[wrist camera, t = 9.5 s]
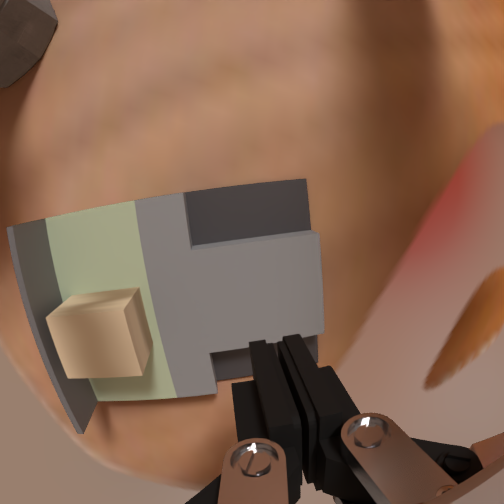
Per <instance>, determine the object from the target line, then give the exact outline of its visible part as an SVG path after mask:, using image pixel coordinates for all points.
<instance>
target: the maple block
mask: <svg viewBox="0 0 504 504" xmlns="http://www.w3.org/2000/svg"><path fill="white" fill-rule="evenodd" d="M46 321H47V324H48V327H49V330H50V333H51V336H52V339H53V342H54V344H55V347H56V350H57V353H58V355H59V358H60V360H61V363H62V365H63V368H64V370H65V373H66V375H67V378H68V379H71V378H111V377H130V376H143V373H144V370H145V367H146V364H147V361H148V358H149V355H150V351H151V348H152V345H153V341H152V337H151V333H150V329H149V325H148V321H147V317H146V313H145V309H144V305H143V301H142V296H141V292H140V287H133V288H125V289H118V290H110V291H102V292H94V293H86V294H78V295H72V296H70V297H69V298H68V299H67V300H66V301H64V302H63V303H62V304H61V305H60V306H58V307H57V308H56V309H55V310H54V311H53V312H51V313H50V314H49V315H48V316H47V317H46Z"/></svg>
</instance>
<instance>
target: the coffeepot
mask: <svg viewBox="0 0 504 504" xmlns="http://www.w3.org/2000/svg"><path fill="white" fill-rule="evenodd" d="M57 23H58V20H57V17H56V15H55V11H54V10H53V8H52V5H51V3H50V0H0V87H9V86H10V85H11V84H13V83H14V82H15V81H17V80H18V79H19V78H20V77H22V76H23V75H24V74H26V73H27V72H28V71H29V70H30V69H31V68H32V67H33V66H34V64H35V63H36V62H37V61H38V60H39V59H40V58H41V56H42V55H43V53H44V52H45V50H46V48H47V46H48V44H49V43H50V41H51V38H52V36H53V33H54V30H55V26H56V24H57Z"/></svg>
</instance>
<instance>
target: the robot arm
mask: <svg viewBox="0 0 504 504" xmlns="http://www.w3.org/2000/svg"><path fill="white" fill-rule="evenodd" d="M249 350H250V357H251V364H252V371H253V379H254V380H252V381H245V382H238V383H232V384H231V385H232V394H233V403H234V412H235V420H236V429H237V437H238V443H236V444H235V445H233V446H232V447H230V449H229V450H228V451H227V452H226V454H225V457H224V460H223V467H222V474H221V475H219V476H218V477H217V478H216V479H215V480H214V481H212V482H211V483H210V484H209V485H208V486H206V487H205V488H204V489H203V490H201V491H200V492H199V493H198V494H197V495H195V496H194V497H193V498H191V499H190V500H189V501H188V502H186V503H185V504H295V503H296V502H297V501H298V500H299V499H300V485H302V470H303V473H304V476H305V479H306V481H307V483H308V484H309V483H314V486H315V489H316V491H318V490H322V491H323V492H324V493H326V494H329V495H332V496H333V499H334V502H335V503H336V504H504V432H503V433H501V434H498V435H495V436H493V437H490V438H488V439H485V440H483V441H480V442H477V443H474V444H472V446H471V448H466V447H462V446H456V445H449V444H442V443H437V442H431V441H425V440H420V439H415V438H410V437H409V436H408V435H407V434H406V433H405V432H404V431H403V430H402V429H401V428H400V427H399V426H398V425H396V423H395V422H394V421H393V420H391V419H390V418H388V417H387V416H384V415H381V414H377V413H363V414H360V412H359V410H358V409H357V407H356V406H355V404H354V402H353V401H352V399H351V398H350V396H349V394H348V393H347V391H346V389H345V388H344V386H343V384H342V383H341V381H340V380H339V378H338V376H337V375H336V373H335V372H334V370H333V368H332V367H331V366H326V367H321V368H318V366H317V364H316V362H315V360H314V359H313V357H312V355H311V353H310V351H309V350H308V348H307V346H306V344H305V342H304V340H303V339H302V337H301V335H300V334H294V335H288V336H283V338H282V341H278V342H277V350H278V356H277V354H276V351H275V348H274V345H273V343H266V340H265V339H264V340H258V341H251V342H249Z"/></svg>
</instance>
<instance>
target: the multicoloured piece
mask: <svg viewBox="0 0 504 504" xmlns="http://www.w3.org/2000/svg"><path fill="white" fill-rule="evenodd" d="M6 228H7V234H8V240H9V246H10V251H11V256H12V261H13V265H14V270H15V274H16V278H17V282H18V286H19V290H20V294H21V297H22V301H23V304H24V308H25V311H26V314H27V317H28V321H29V324H30V327H31V330H32V333H33V336H34V338H35V341H36V344H37V347H38V349H39V352H40V355H41V357H42V360H43V362H44V365H45V367H46V370H47V372H48V374H49V377H50V379H51V381H52V383H53V386H54V388H55V390H56V392H57V394H58V397H59V399H60V401H61V403H62V405H63V407H64V409H65V411H66V413H67V415H68V417H69V419H70V420H71V422H72V424H73V426H74V428H75V430H76V432H77V433H78V434H84V432H85V430H86V427H87V425H88V423H89V420H90V418H91V416H92V413H93V411H94V409H95V407H96V405H97V402H98V401H131V400H152V399H167V398H179V397H189V396H199V395H208V394H216V393H218V389H217V380H224V379H231V378H238V377H245V376H251V375H253V371H252V364H251V357H250V350H249V342H251V341H258V340H264V339H265V340H266V343H273V345H274V348H275V351H276V354H277V356H278V350H277V342H278V341H282V338H283V336H288V335H294V334H300V335H301V337H302V339H303V340H304V342H305V344H306V346H307V348H308V350H309V351H310V353H311V355H312V357H313V359H314V360H315V362H316V363H318V344H317V335H318V334H323V333H324V304H323V283H322V265H321V249H320V235H319V233H317V232H315V231H312V230H311V224H310V213H309V202H308V192H307V182H306V179H296V180H285V181H275V182H265V183H256V184H247V185H238V186H230V187H222V188H214V189H207V190H199V191H192V192H185V193H177V194H170V195H164V196H158V197H152V198H146V199H140V200H134V201H128V202H123V203H117V204H112V205H107V206H102V207H97V208H92V209H87V210H82V211H77V212H72V213H68V214H63V215H58V216H54V217H50V218H45V219H41V220H36V221H31V222H27V223H22V224H18V225H14V226H10V227H6ZM133 287H140V292H141V296H142V301H143V305H144V309H145V313H146V317H147V321H148V325H149V329H150V333H151V337H152V341H153V345H152V348H151V351H150V355H149V358H148V361H147V364H146V367H145V370H144V373H143V376H130V377H111V378H71V379H68V378H67V375H66V373H65V370H64V368H63V365H62V363H61V360H60V358H59V355H58V353H57V350H56V347H55V344H54V342H53V339H52V336H51V333H50V330H49V327H48V324H47V321H46V317H47V316H48V315H49V314H50V313H51V312H53V311H54V310H55V309H56V308H57V307H58V306H60V305H61V304H62V303H63V302H64V301H66V300H67V299H68V298H69V297H70V296H72V295H78V294H86V293H94V292H102V291H110V290H118V289H125V288H133Z"/></svg>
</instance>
